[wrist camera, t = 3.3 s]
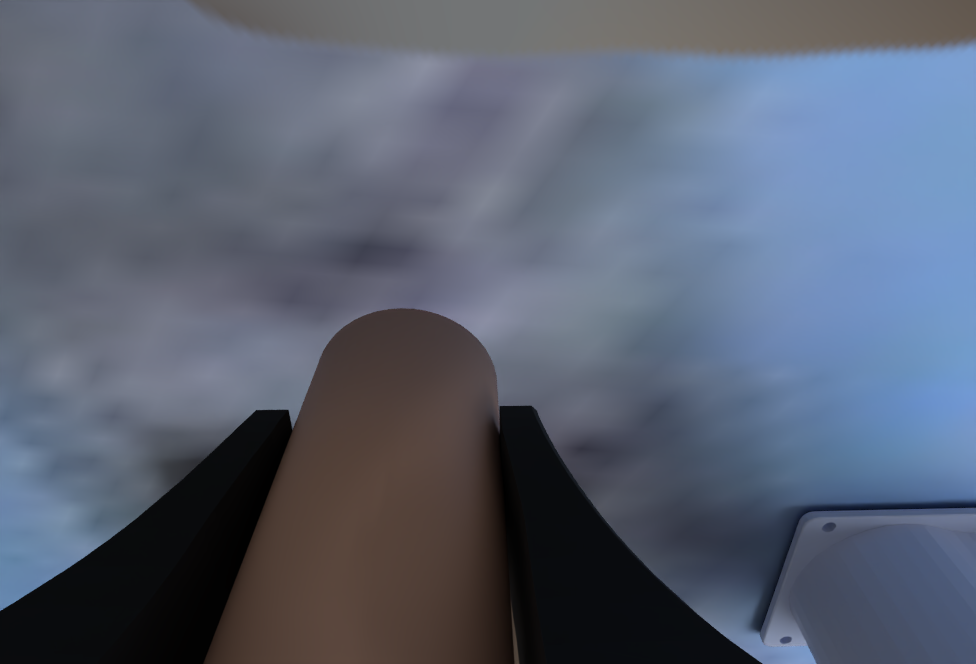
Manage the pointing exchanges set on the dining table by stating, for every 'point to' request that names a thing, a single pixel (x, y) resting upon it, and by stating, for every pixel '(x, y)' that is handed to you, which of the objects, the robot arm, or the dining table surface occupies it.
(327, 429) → the pin
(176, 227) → the dining table surface
